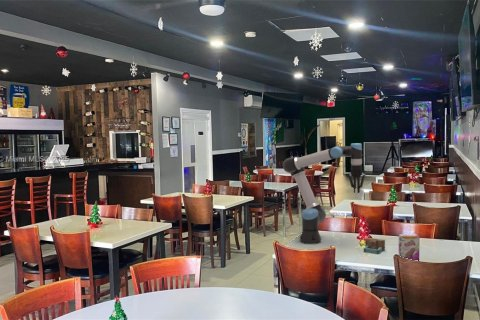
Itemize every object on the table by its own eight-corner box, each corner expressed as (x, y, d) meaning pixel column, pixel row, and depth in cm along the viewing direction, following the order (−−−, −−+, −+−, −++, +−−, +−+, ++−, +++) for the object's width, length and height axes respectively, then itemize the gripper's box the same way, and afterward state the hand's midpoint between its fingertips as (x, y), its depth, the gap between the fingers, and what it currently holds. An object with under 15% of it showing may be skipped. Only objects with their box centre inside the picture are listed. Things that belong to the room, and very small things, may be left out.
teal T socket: (363, 252, 277) (363, 248, 277) (367, 249, 284) (367, 245, 283) (378, 254, 271) (378, 250, 271) (382, 251, 278) (382, 247, 278)
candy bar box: (400, 263, 252) (400, 236, 251) (398, 260, 257) (398, 234, 256) (419, 263, 251) (419, 236, 250) (417, 260, 256) (417, 234, 255)
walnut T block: (362, 251, 279) (362, 240, 279) (366, 247, 287) (366, 237, 287) (381, 253, 273) (381, 242, 272) (384, 250, 281) (384, 239, 280)
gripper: (367, 164, 301) (367, 197, 302) (349, 164, 308) (349, 196, 309) (364, 165, 294) (364, 198, 296) (345, 164, 302) (346, 197, 303)
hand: (356, 197), depth 302 cm, fingers closed
